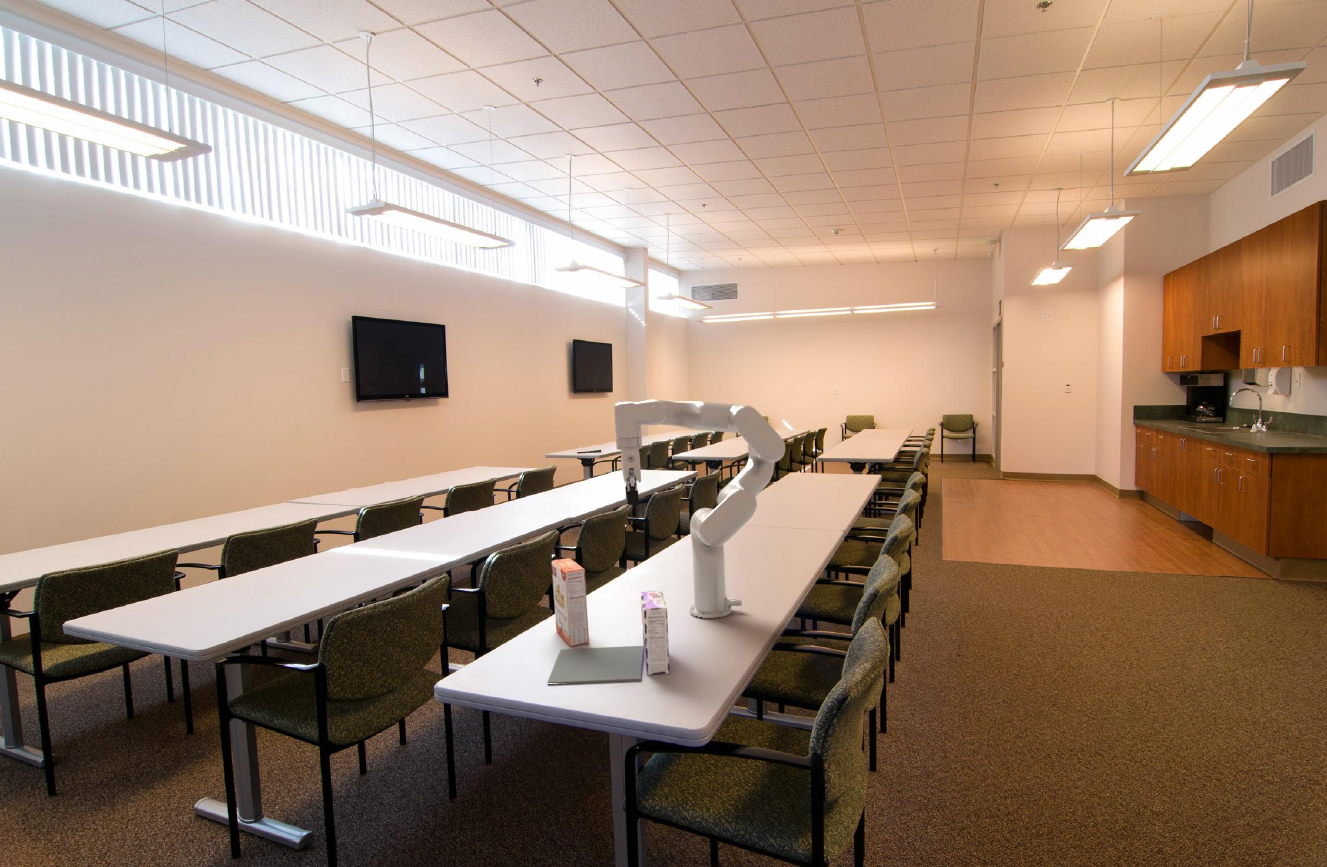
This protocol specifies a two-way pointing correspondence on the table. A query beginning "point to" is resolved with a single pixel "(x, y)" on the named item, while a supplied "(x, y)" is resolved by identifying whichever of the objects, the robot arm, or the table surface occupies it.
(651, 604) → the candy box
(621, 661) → the rubber mat
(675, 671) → the table surface
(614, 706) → the table surface
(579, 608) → the cracker box
